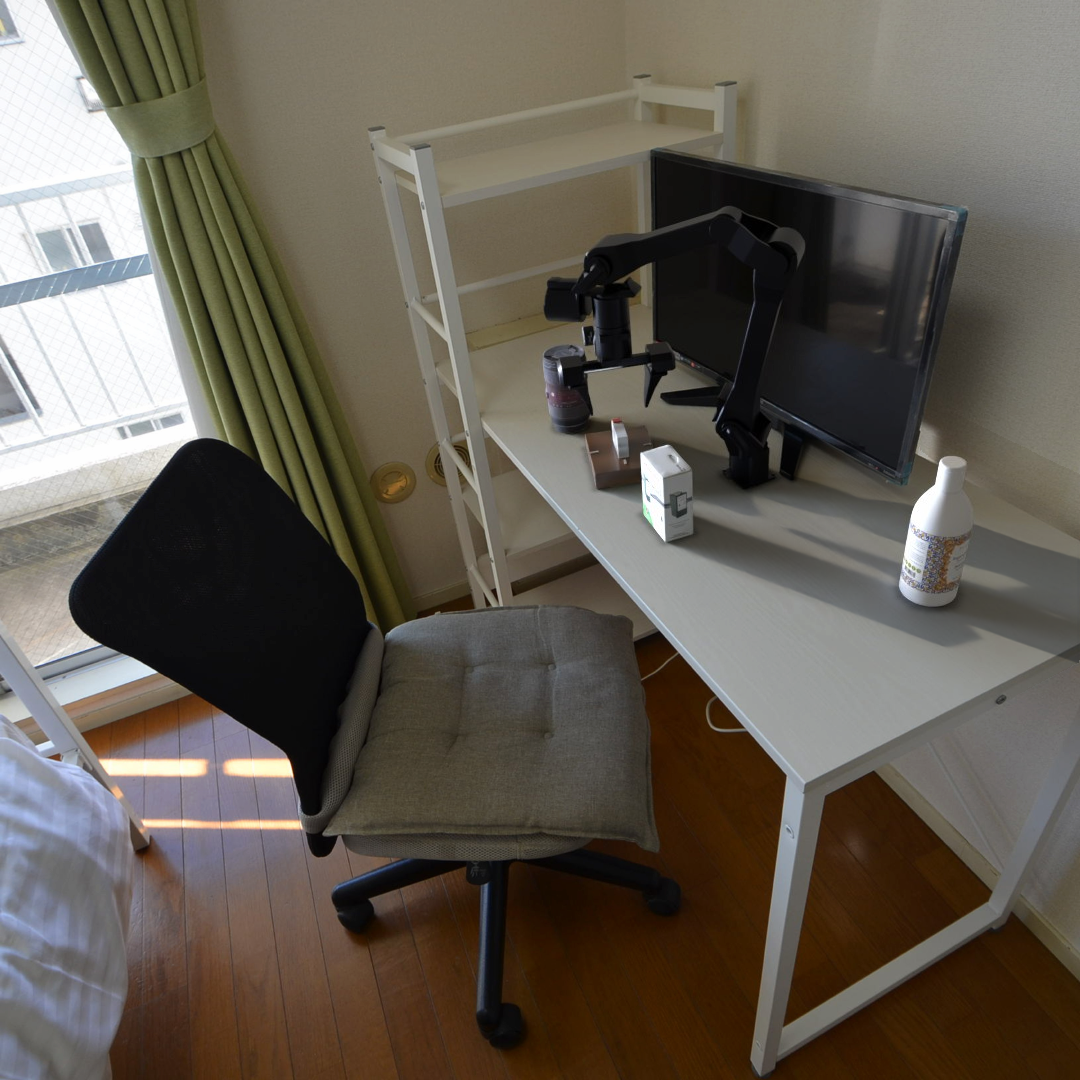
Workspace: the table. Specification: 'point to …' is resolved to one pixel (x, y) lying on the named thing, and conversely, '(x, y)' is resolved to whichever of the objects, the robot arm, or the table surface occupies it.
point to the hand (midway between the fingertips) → (618, 410)
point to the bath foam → (938, 538)
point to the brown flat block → (606, 460)
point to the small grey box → (620, 438)
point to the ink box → (667, 492)
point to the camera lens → (564, 392)
